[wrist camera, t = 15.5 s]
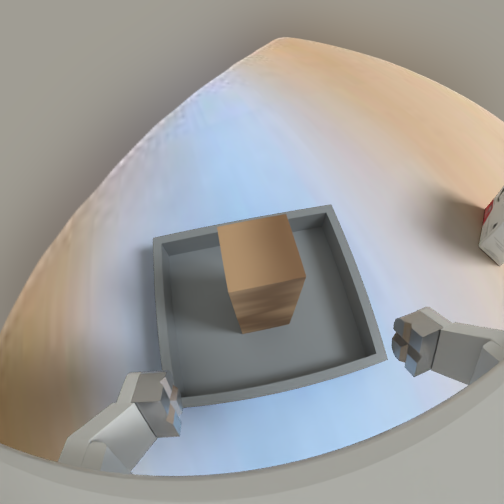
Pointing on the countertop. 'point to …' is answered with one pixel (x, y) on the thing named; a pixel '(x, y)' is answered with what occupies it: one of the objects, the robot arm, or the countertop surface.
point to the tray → (269, 340)
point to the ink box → (494, 229)
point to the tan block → (262, 271)
